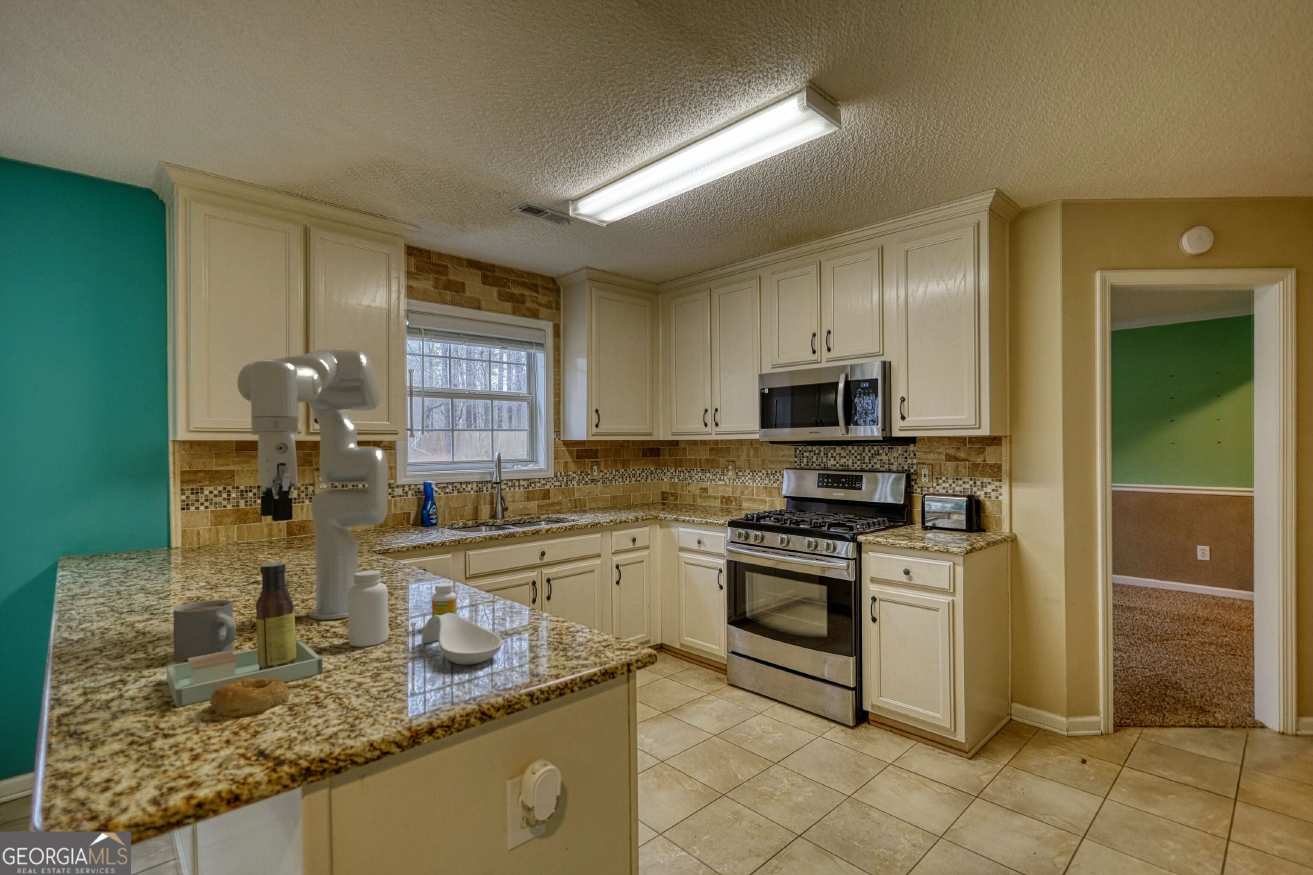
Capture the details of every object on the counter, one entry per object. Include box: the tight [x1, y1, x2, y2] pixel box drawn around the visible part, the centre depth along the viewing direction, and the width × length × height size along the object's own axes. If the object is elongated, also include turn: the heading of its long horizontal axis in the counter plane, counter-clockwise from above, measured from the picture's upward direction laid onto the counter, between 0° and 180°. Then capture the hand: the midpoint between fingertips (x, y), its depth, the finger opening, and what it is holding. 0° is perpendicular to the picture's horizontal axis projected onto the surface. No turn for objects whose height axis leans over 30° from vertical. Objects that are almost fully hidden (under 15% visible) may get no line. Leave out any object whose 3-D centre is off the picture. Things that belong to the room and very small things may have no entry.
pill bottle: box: [347, 569, 389, 648], centre depth 138 cm, size 8×8×15 cm
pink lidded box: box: [187, 650, 237, 686], centre depth 113 cm, size 6×6×5 cm
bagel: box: [209, 678, 290, 719], centre depth 104 cm, size 10×11×5 cm
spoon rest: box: [421, 613, 503, 666], centre depth 130 cm, size 24×12×7 cm, turn 45°
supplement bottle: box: [431, 582, 457, 617], centre depth 150 cm, size 5×5×10 cm
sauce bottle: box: [255, 562, 297, 671], centre depth 120 cm, size 6×6×20 cm
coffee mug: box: [173, 599, 237, 662], centre depth 131 cm, size 13×10×10 cm
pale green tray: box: [166, 639, 323, 708], centre depth 116 cm, size 22×16×3 cm
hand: (276, 517), depth 120 cm, fingers open, 9 cm apart
